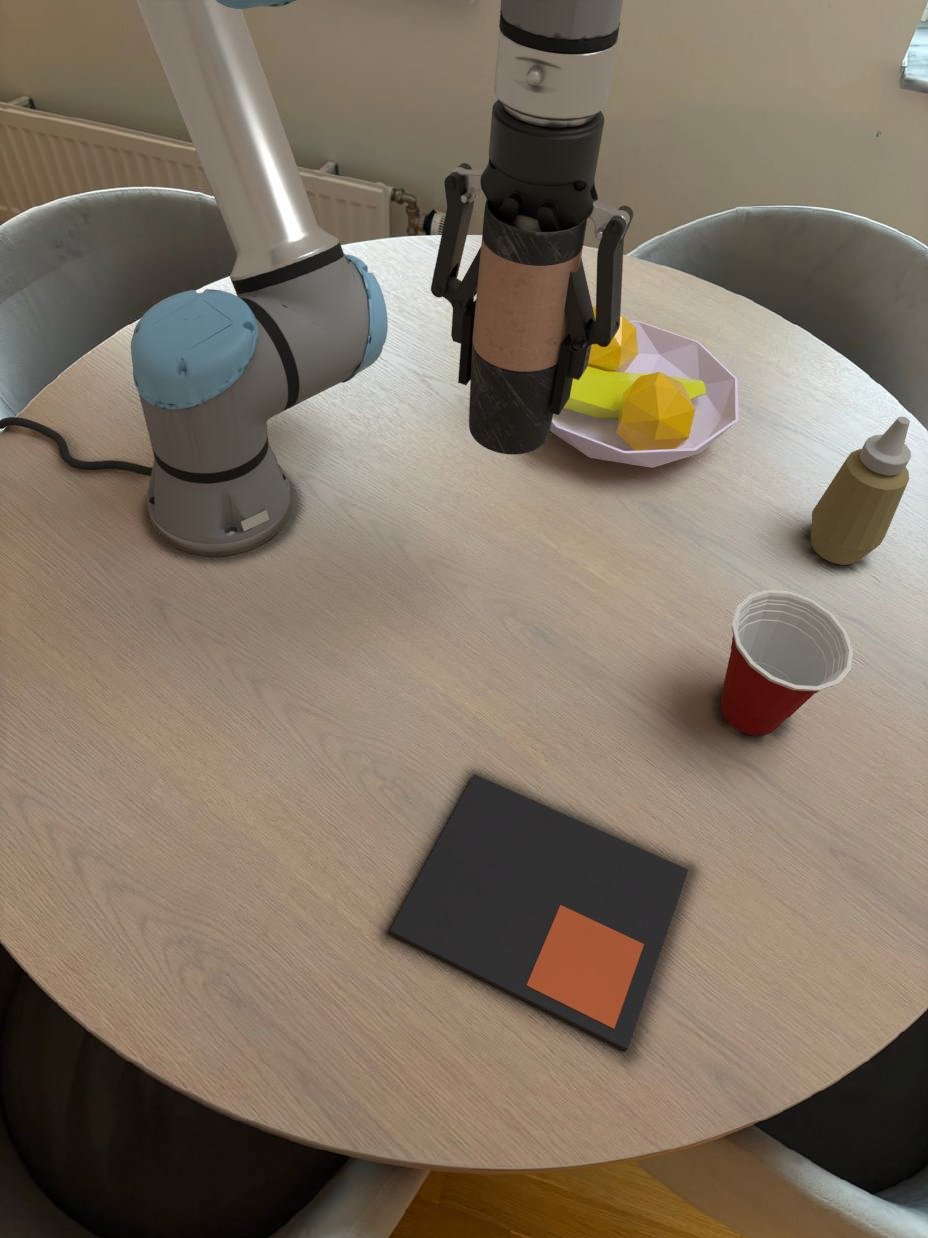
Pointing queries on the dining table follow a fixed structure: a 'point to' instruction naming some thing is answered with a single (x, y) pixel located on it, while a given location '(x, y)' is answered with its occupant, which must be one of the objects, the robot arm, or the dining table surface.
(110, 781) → the dining table surface
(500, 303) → the travel mug
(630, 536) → the dining table surface
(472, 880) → the mat
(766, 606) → the plastic cup
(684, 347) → the fruit bowl
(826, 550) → the squeeze bottle
